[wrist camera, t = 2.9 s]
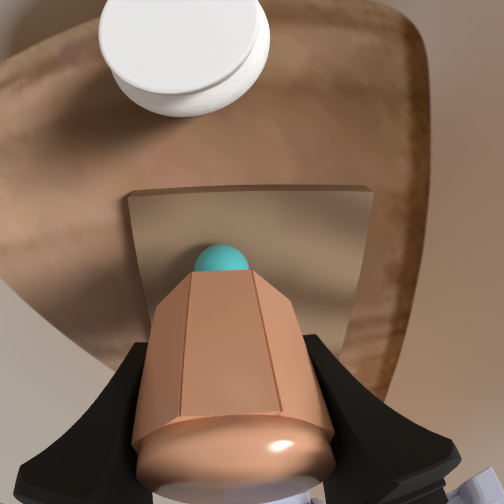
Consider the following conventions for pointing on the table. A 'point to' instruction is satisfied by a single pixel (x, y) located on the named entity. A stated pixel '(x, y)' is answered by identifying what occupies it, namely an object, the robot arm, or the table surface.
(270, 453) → the faceted octagonal canister
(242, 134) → the table surface
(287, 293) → the walnut board
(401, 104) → the table surface
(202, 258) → the teal ball
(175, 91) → the supplement bottle
